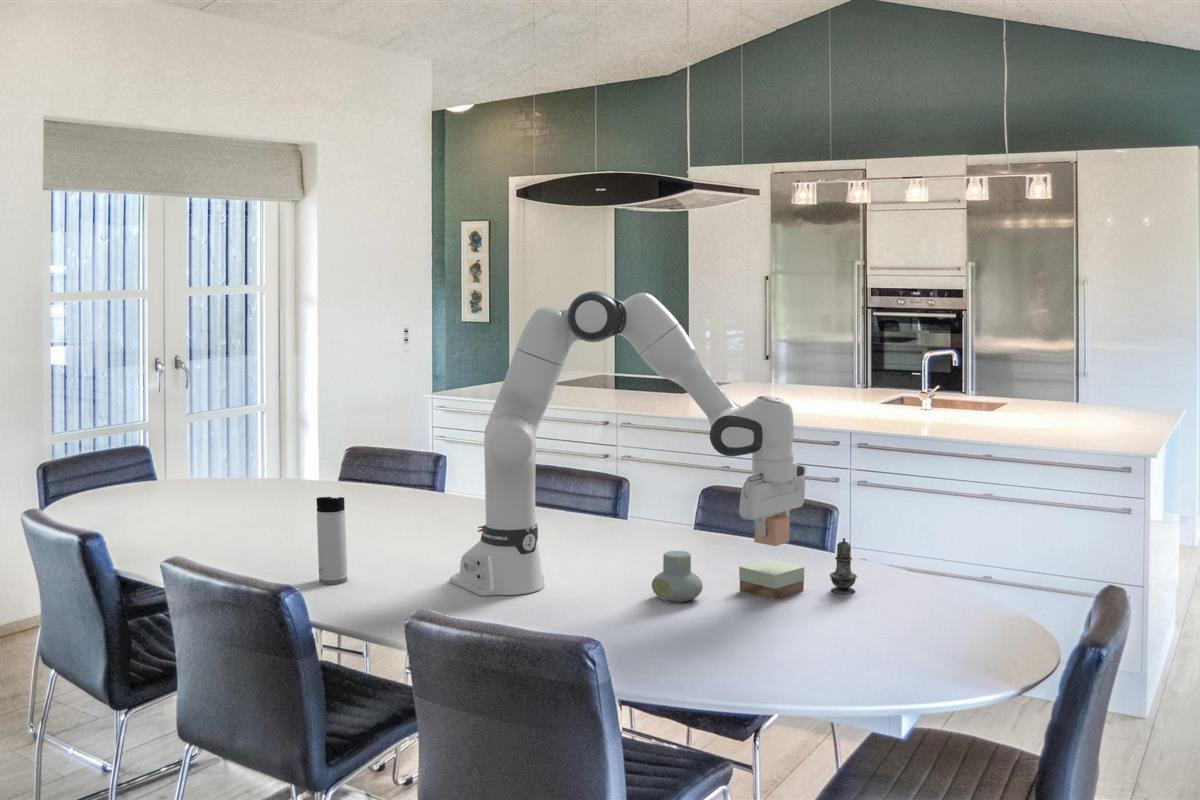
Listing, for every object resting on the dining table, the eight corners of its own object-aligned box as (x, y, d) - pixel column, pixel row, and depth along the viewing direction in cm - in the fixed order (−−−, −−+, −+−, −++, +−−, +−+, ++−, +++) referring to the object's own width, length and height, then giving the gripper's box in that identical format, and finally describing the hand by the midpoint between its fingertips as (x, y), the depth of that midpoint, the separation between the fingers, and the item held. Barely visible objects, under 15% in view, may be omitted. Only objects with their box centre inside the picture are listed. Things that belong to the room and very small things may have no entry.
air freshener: (708, 602, 246) (708, 556, 245) (677, 608, 242) (677, 562, 241) (676, 590, 255) (676, 545, 254) (646, 596, 251) (646, 551, 250)
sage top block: (739, 579, 254) (739, 566, 254) (768, 571, 261) (768, 558, 261) (774, 589, 247) (774, 575, 247) (804, 580, 254) (804, 567, 253)
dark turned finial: (859, 595, 251) (860, 540, 249) (832, 595, 251) (833, 541, 249) (853, 587, 256) (854, 534, 255) (827, 587, 257) (828, 534, 255)
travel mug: (314, 584, 261) (311, 498, 259) (325, 577, 268) (322, 492, 265) (340, 586, 260) (337, 498, 258) (351, 578, 267) (348, 492, 264)
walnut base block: (739, 594, 254) (739, 580, 254) (765, 584, 261) (765, 571, 261) (777, 602, 247) (778, 589, 247) (803, 592, 255) (803, 579, 254)
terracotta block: (754, 542, 253) (754, 517, 252) (768, 537, 257) (768, 513, 256) (775, 546, 249) (775, 521, 249) (789, 541, 253) (789, 517, 253)
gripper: (756, 479, 242) (756, 544, 243) (810, 466, 256) (809, 527, 258) (732, 475, 246) (731, 539, 247) (786, 463, 261) (785, 523, 262)
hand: (771, 533), depth 253 cm, fingers closed on terracotta block, 5 cm apart
